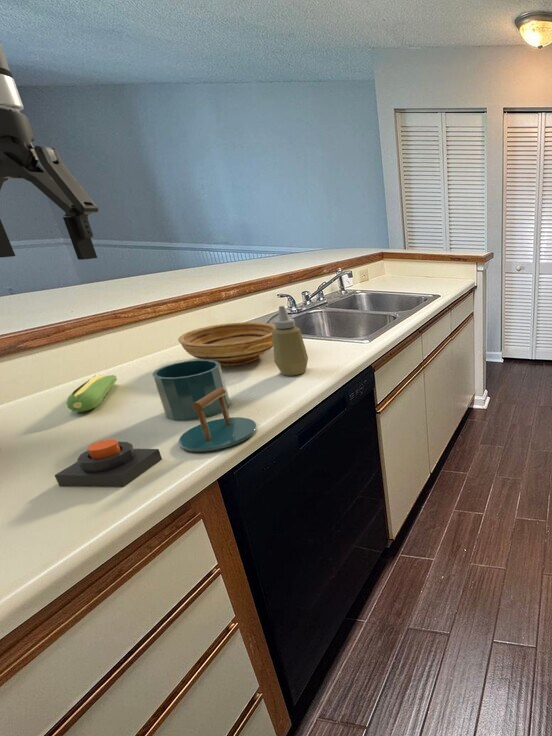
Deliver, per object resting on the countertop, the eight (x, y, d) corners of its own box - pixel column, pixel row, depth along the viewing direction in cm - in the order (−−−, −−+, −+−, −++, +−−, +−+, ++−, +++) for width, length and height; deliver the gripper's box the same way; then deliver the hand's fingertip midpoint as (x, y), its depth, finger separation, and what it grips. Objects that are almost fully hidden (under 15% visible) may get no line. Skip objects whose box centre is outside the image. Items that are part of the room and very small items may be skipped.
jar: (152, 420, 87) (137, 378, 83) (190, 398, 97) (179, 359, 94) (208, 421, 87) (196, 379, 83) (240, 398, 97) (231, 360, 94)
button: (84, 459, 67) (80, 450, 66) (104, 447, 70) (100, 438, 69) (107, 459, 67) (103, 450, 66) (126, 448, 70) (123, 438, 70)
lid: (163, 454, 75) (148, 408, 72) (208, 421, 87) (197, 381, 83) (233, 454, 76) (221, 409, 72) (269, 422, 87) (260, 382, 84)
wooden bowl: (307, 356, 126) (303, 330, 123) (224, 382, 106) (216, 352, 103) (247, 341, 139) (241, 317, 135) (162, 361, 119) (153, 334, 116)
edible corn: (64, 419, 87) (56, 398, 85) (98, 384, 103) (92, 367, 101) (97, 414, 89) (89, 394, 87) (125, 381, 105) (119, 364, 103)
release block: (59, 486, 66) (49, 465, 65) (104, 459, 74) (96, 439, 72) (124, 487, 66) (115, 466, 65) (162, 459, 74) (155, 439, 72)
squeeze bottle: (316, 371, 115) (305, 305, 108) (288, 380, 108) (275, 311, 101) (299, 365, 119) (287, 301, 112) (270, 373, 112) (256, 306, 105)
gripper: (97, 116, 66) (140, 257, 74) (-67, 111, 65) (-5, 254, 73) (49, 105, 59) (102, 262, 67) (-135, 99, 58) (-59, 258, 66)
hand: (46, 258), depth 70 cm, fingers open, 13 cm apart
